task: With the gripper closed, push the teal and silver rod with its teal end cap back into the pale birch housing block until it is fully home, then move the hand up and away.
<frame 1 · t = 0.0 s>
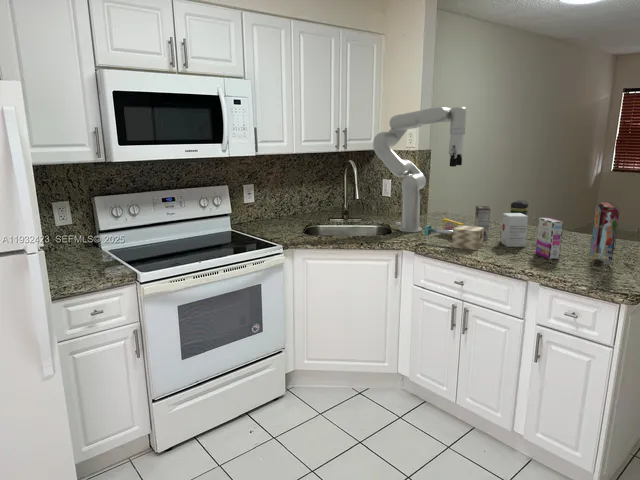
hand: (455, 165, 235), 37 cm above the worktop, tool pointing down, fingers open, 9 cm apart
candy box: (452, 236, 241), on the worktop
coffee box: (481, 238, 236), on the worktop
candy bar box: (547, 256, 199), on the worktop
supplement box: (512, 245, 220), on the worktop
box: (598, 261, 191), on the worktop
coffee jar: (517, 235, 239), on the worktop
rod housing: (467, 246, 218), on the worktop
teal and silver rod: (443, 231, 223), point 6 cm above the worktop, slide at 10.0 cm
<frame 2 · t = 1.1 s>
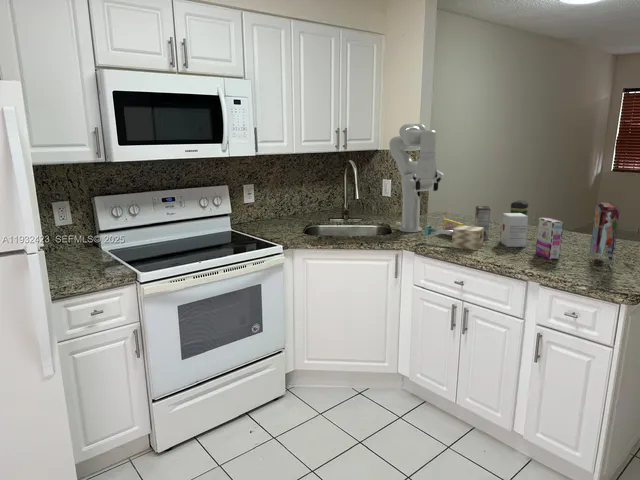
hand: (426, 190, 228), 26 cm above the worktop, tool pointing down, fingers open, 9 cm apart
nothing on the worktop moved.
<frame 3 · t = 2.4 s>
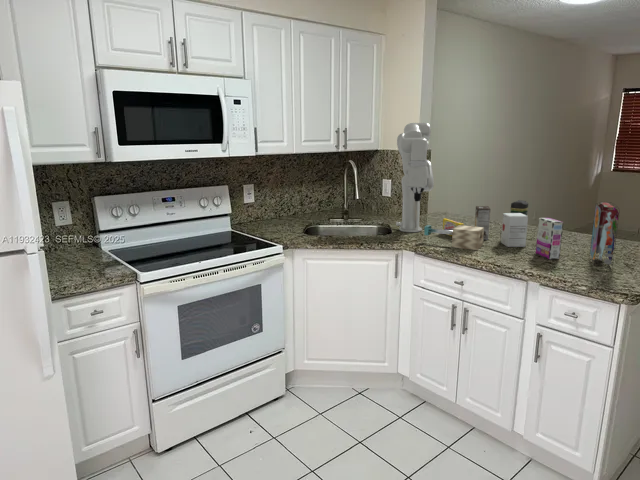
hand: (417, 200, 227), 20 cm above the worktop, tool pointing down, fingers closed
nothing on the worktop moved.
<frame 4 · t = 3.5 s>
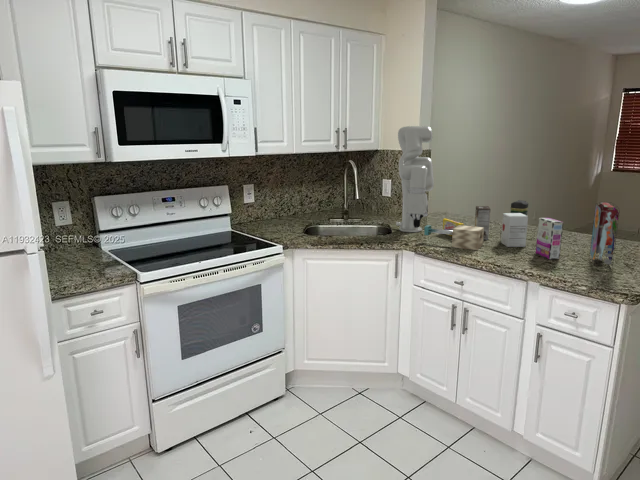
hand: (416, 227, 230), 7 cm above the worktop, tool pointing down, fingers closed
nothing on the worktop moved.
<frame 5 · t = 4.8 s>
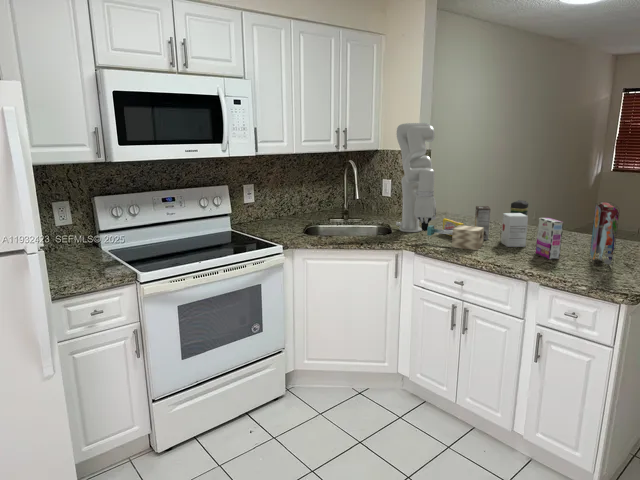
hand: (424, 230, 228), 6 cm above the worktop, tool pointing down, fingers closed
teal and silver rod: (446, 232, 222), point 6 cm above the worktop, slide at 8.5 cm, touching gripper
everything else where it was.
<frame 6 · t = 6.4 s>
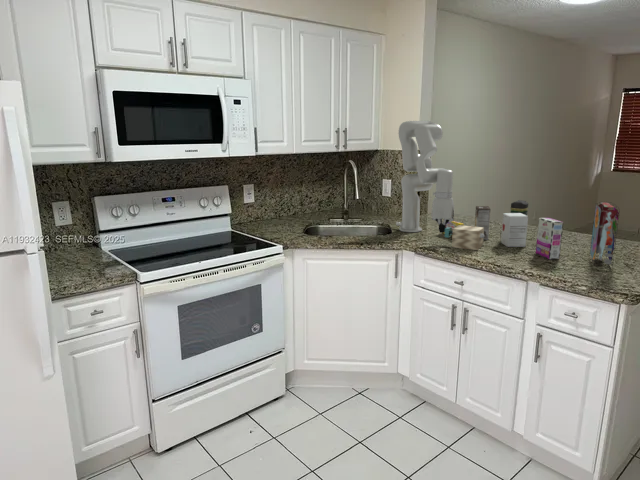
hand: (442, 232, 224), 6 cm above the worktop, tool pointing down, fingers closed
teal and silver rod: (464, 233, 218), point 6 cm above the worktop, slide at -0.3 cm, touching gripper
everything else where it was.
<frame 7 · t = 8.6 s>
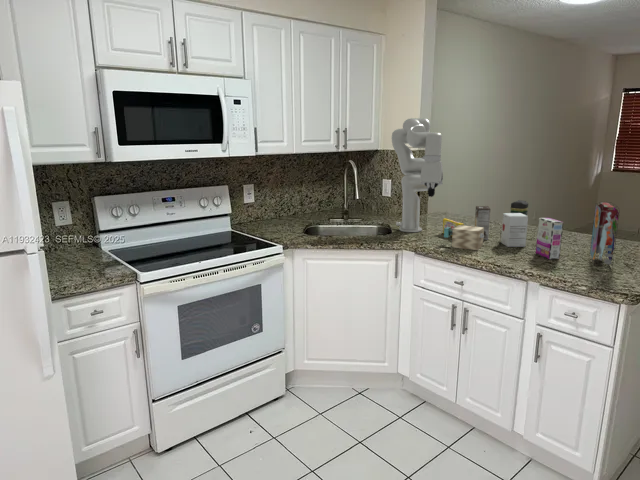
hand: (431, 196, 224), 23 cm above the worktop, tool pointing down, fingers closed
teal and silver rod: (463, 233, 218), point 6 cm above the worktop, slide at 0.0 cm
everything else where it was.
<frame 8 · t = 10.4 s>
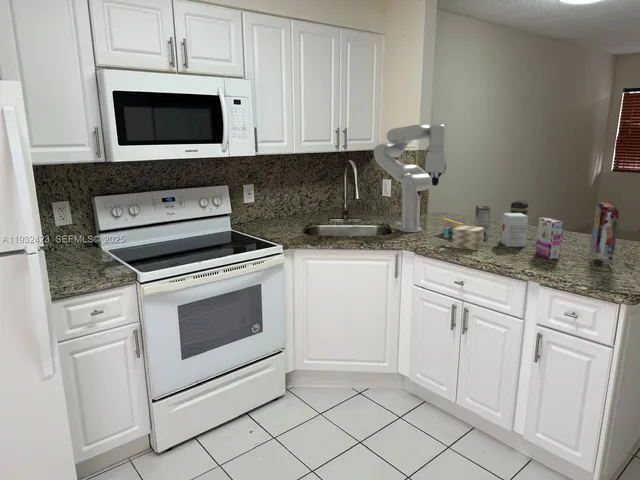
hand: (435, 185, 235), 27 cm above the worktop, tool pointing down, fingers closed
nothing on the worktop moved.
at the end: teal and silver rod slide at 0.0 cm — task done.
